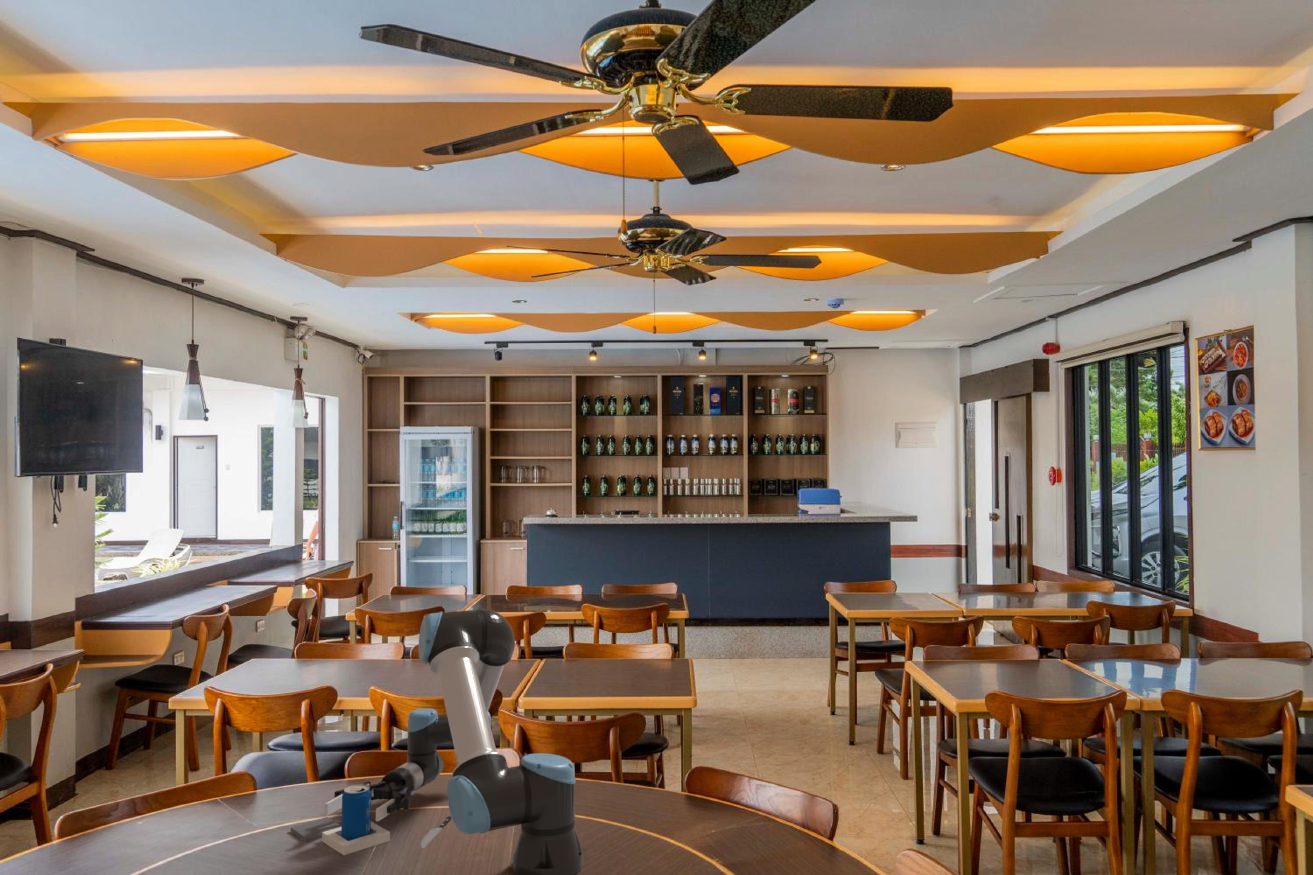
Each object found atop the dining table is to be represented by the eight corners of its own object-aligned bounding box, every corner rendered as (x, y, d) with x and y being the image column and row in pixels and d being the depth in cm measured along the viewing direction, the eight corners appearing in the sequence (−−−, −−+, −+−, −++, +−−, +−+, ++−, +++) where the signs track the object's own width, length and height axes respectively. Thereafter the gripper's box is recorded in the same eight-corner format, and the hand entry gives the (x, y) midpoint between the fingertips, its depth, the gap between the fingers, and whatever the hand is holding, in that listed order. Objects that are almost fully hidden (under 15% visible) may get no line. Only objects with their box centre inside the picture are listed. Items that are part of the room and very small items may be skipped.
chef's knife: (409, 852, 193) (421, 852, 193) (408, 847, 193) (421, 846, 193) (441, 819, 212) (452, 819, 212) (440, 814, 212) (452, 814, 212)
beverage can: (361, 847, 195) (362, 794, 195) (335, 845, 196) (336, 792, 197) (375, 836, 201) (376, 784, 202) (351, 834, 202) (352, 782, 203)
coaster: (343, 831, 204) (343, 826, 204) (306, 842, 198) (306, 837, 198) (327, 821, 210) (327, 816, 210) (290, 831, 204) (290, 827, 204)
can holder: (389, 840, 198) (389, 831, 199) (343, 855, 190) (343, 846, 191) (367, 827, 206) (367, 818, 206) (322, 840, 198) (322, 832, 199)
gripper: (445, 801, 214) (398, 834, 194) (359, 792, 221) (305, 823, 200) (445, 771, 215) (399, 800, 194) (359, 763, 221) (305, 790, 201)
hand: (351, 812), depth 197 cm, fingers open, 13 cm apart
